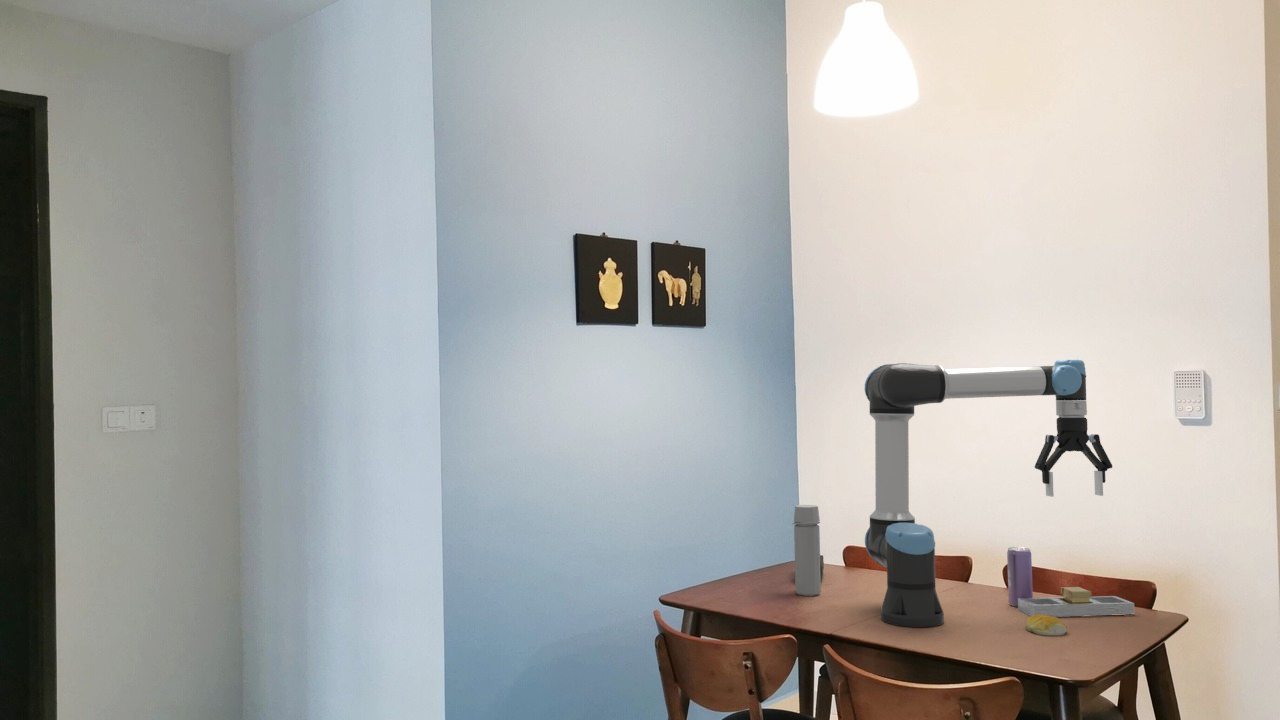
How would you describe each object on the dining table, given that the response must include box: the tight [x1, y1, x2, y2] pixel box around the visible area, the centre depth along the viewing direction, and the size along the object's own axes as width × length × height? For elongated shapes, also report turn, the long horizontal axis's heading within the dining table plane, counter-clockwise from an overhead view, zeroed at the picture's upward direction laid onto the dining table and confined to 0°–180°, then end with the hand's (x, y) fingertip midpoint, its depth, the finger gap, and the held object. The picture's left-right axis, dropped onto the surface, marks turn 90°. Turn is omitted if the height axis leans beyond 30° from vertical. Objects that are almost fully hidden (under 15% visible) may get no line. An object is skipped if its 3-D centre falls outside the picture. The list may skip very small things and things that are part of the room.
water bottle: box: [791, 504, 822, 597], centre depth 261 cm, size 9×8×25 cm
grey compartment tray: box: [1017, 595, 1136, 618], centre depth 233 cm, size 26×8×3 cm, turn 92°
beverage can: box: [1006, 546, 1034, 608], centre depth 242 cm, size 6×6×15 cm
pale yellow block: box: [1060, 586, 1093, 604], centre depth 233 cm, size 5×6×6 cm
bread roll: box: [1025, 614, 1068, 637], centre depth 215 cm, size 8×9×4 cm
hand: (1074, 495), depth 244 cm, fingers open, 13 cm apart
